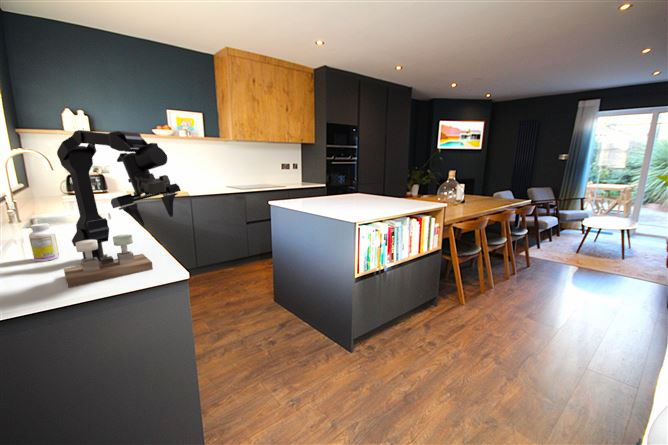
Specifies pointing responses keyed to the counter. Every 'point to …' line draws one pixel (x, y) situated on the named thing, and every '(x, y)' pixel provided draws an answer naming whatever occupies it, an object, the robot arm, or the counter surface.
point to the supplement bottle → (43, 243)
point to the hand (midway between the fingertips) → (158, 221)
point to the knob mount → (106, 268)
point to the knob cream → (87, 247)
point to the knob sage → (123, 242)
